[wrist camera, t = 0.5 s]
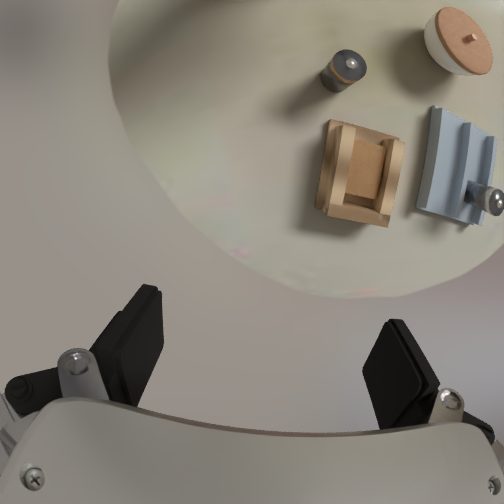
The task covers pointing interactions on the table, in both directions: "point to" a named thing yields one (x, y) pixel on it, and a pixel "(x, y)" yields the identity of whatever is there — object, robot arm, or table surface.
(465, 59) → the lidded jar
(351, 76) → the cell
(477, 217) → the trough board
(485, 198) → the cell
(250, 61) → the table surface
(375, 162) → the brown rectangular slab
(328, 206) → the cradle
